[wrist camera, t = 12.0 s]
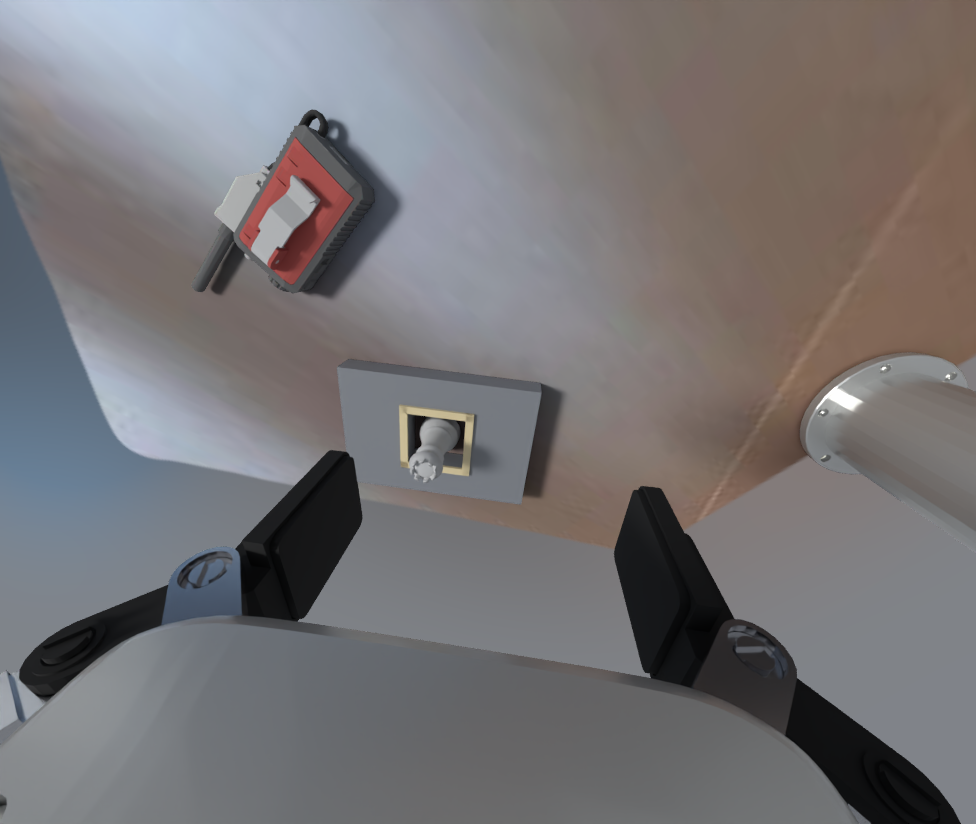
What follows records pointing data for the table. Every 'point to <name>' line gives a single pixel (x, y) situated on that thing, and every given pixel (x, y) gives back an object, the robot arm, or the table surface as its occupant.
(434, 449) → the rook chess piece
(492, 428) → the socket board
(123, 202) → the table surface
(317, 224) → the red gray switch box
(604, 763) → the robot arm
